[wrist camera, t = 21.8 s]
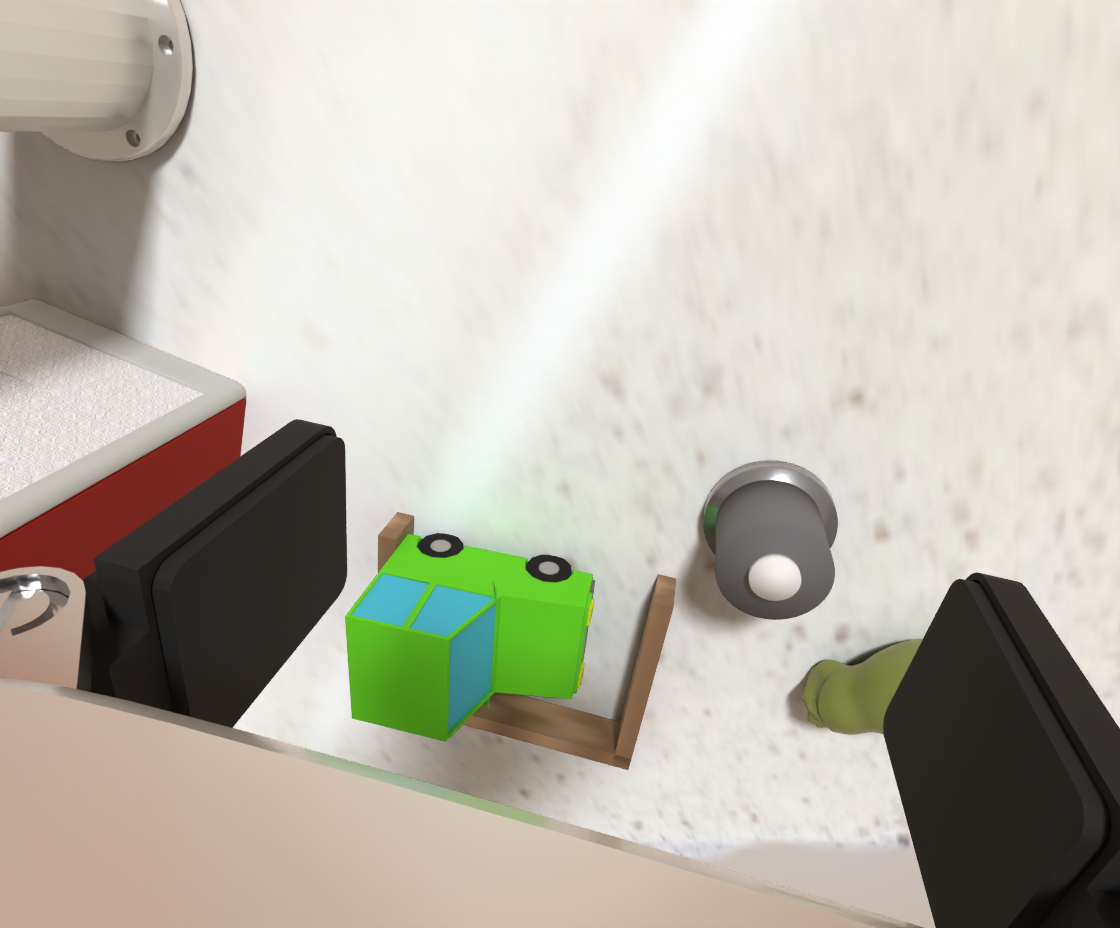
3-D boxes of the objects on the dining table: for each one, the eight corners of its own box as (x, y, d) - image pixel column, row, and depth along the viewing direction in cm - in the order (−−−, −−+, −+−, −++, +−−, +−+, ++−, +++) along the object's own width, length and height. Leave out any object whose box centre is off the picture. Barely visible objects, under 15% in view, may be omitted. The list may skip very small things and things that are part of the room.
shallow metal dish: (691, 553, 43) (690, 562, 42) (720, 448, 39) (720, 455, 39) (812, 581, 42) (814, 591, 41) (853, 476, 39) (856, 484, 38)
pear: (999, 748, 38) (826, 766, 44) (983, 676, 42) (827, 701, 48) (959, 679, 36) (785, 707, 42) (947, 612, 41) (790, 645, 46)
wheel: (705, 553, 42) (703, 610, 37) (730, 469, 39) (732, 518, 34) (803, 577, 41) (814, 638, 36) (836, 493, 38) (854, 547, 33)
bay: (393, 672, 54) (376, 700, 51) (397, 512, 46) (378, 535, 44) (632, 737, 51) (628, 770, 49) (676, 578, 44) (673, 607, 41)
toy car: (587, 665, 49) (558, 781, 40) (415, 626, 51) (352, 729, 42) (604, 550, 44) (576, 653, 36) (414, 512, 46) (344, 601, 38)
